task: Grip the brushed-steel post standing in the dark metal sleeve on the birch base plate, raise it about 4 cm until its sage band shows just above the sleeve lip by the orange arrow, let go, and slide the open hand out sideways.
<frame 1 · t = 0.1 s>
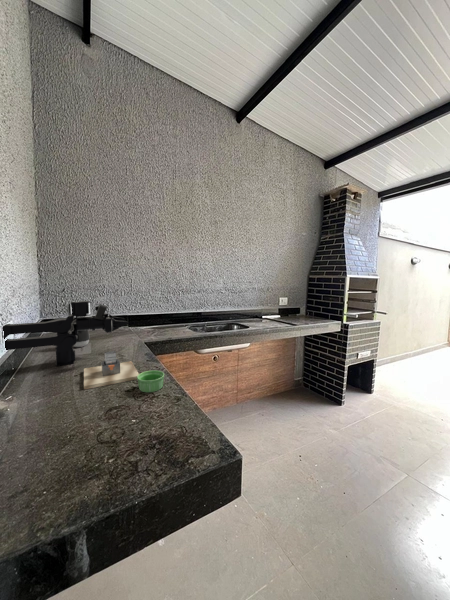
hand: (126, 320, 116), 17 cm above the counter, tool horizontal, fingers open, 9 cm apart
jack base: (110, 374, 93), on the counter
ramekin: (151, 388, 83), on the counter
steel post: (110, 362, 92), point 5 cm above the counter, slide at 0.0 cm
pump dispenser: (79, 346, 131), on the counter
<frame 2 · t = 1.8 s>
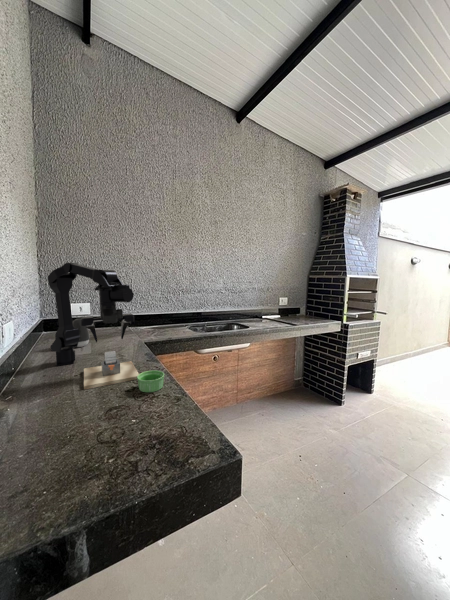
hand: (109, 340, 96), 12 cm above the counter, tool pointing down, fingers open, 9 cm apart
nothing on the counter moved.
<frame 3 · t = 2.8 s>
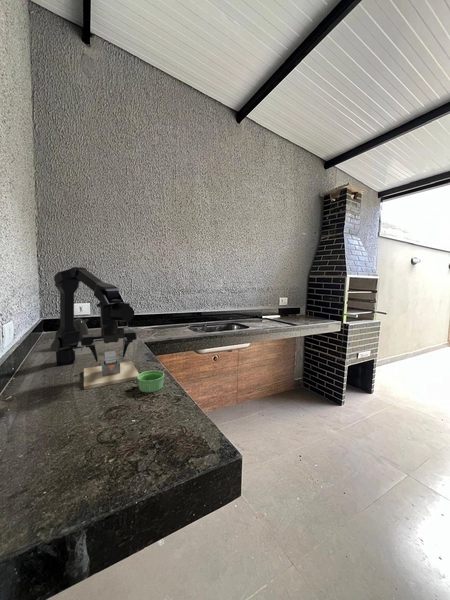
hand: (110, 359, 92), 6 cm above the counter, tool pointing down, fingers open, 9 cm apart
nothing on the counter moved.
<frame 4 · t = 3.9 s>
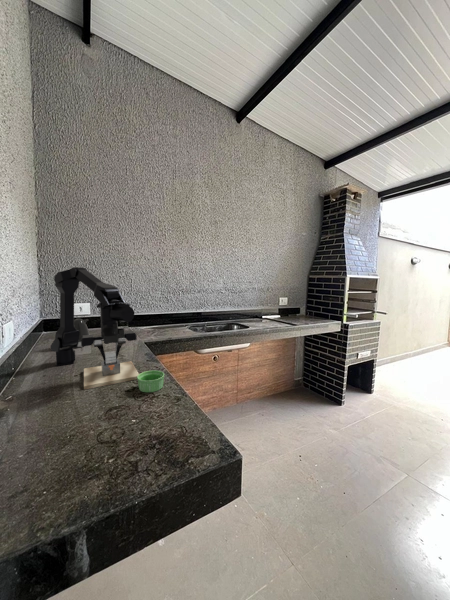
hand: (110, 359, 92), 6 cm above the counter, tool pointing down, fingers closed on steel post, 4 cm apart
steel post: (110, 362, 92), point 5 cm above the counter, slide at 0.0 cm, touching gripper
everything else where it was.
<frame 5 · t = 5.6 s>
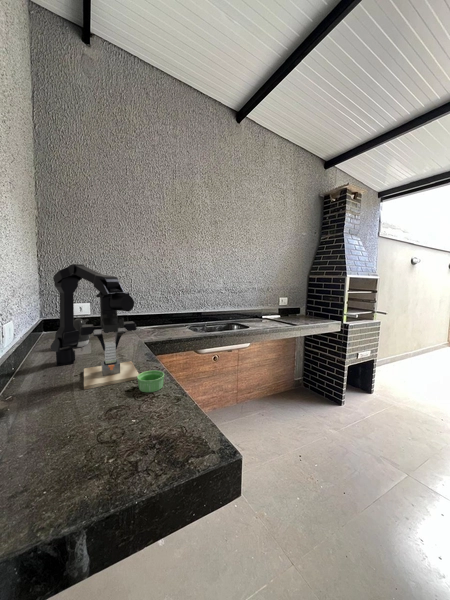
hand: (110, 349, 92), 10 cm above the counter, tool pointing down, fingers closed on steel post, 4 cm apart
steel post: (110, 352, 92), point 9 cm above the counter, slide at 3.9 cm, touching gripper
everything else where it was.
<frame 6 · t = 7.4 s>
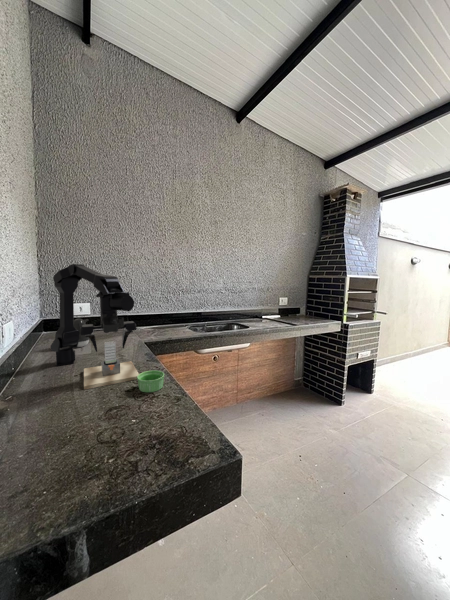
hand: (110, 349, 92), 10 cm above the counter, tool pointing down, fingers open, 9 cm apart
steel post: (110, 352, 92), point 9 cm above the counter, slide at 3.9 cm
everything else where it was.
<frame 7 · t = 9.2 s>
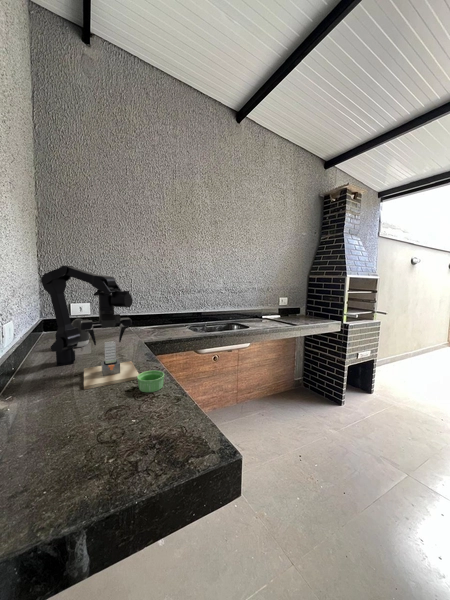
hand: (107, 343, 100), 10 cm above the counter, tool pointing down, fingers open, 9 cm apart
nothing on the counter moved.
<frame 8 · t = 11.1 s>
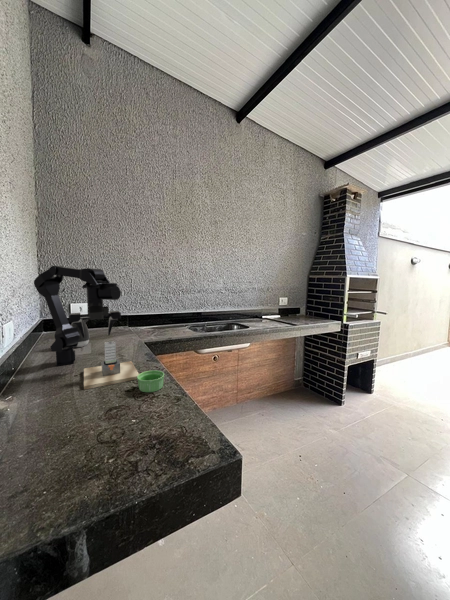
hand: (96, 336, 100), 13 cm above the counter, tool pointing down, fingers open, 9 cm apart
nothing on the counter moved.
at the end: steel post slide at 3.9 cm; the gripper is holding nothing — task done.
